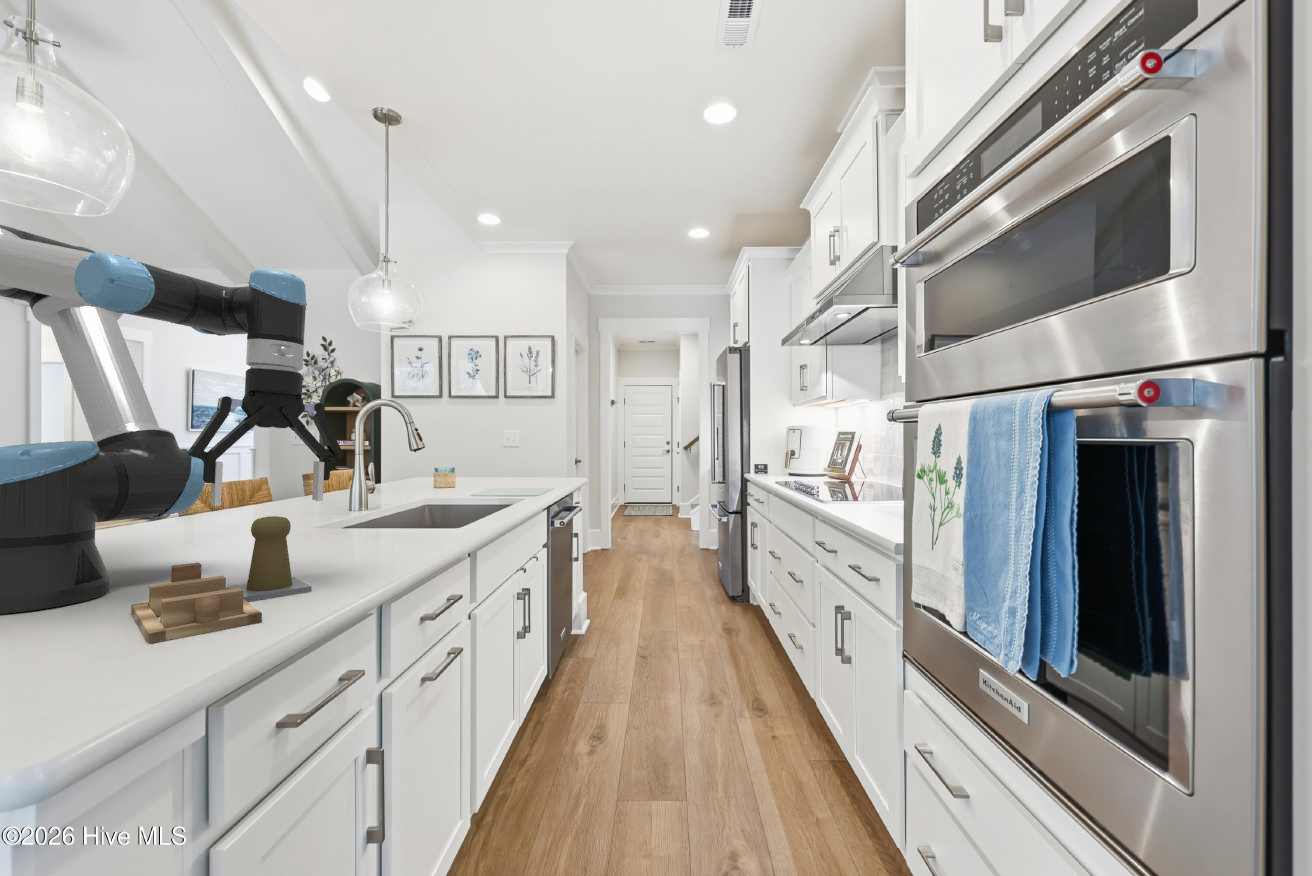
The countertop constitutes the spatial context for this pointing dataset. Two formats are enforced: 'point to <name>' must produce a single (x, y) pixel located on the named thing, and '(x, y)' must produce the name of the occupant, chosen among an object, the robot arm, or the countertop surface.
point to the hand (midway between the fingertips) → (269, 502)
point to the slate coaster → (274, 591)
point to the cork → (270, 555)
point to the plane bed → (192, 606)
